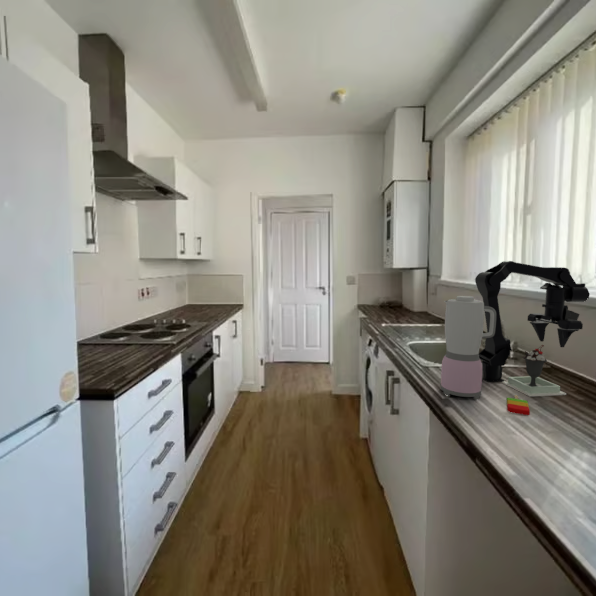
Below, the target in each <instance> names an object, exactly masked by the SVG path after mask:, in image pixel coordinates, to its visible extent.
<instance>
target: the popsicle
mask: <svg viewBox="0 0 596 596" xmlns="http://www.w3.org/2000/svg"><path fill="white" fill-rule="evenodd" d="M506 410H507V412H509V413H511V412H512V413H513V414H518V415H522V414H523V416H530V414H531V413H530V412H531V411H530V406H529V402H528V400H525V399H519V396H518V395H516V394H515V395H514V398H513V397H506ZM512 413H511V414H512Z"/></svg>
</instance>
